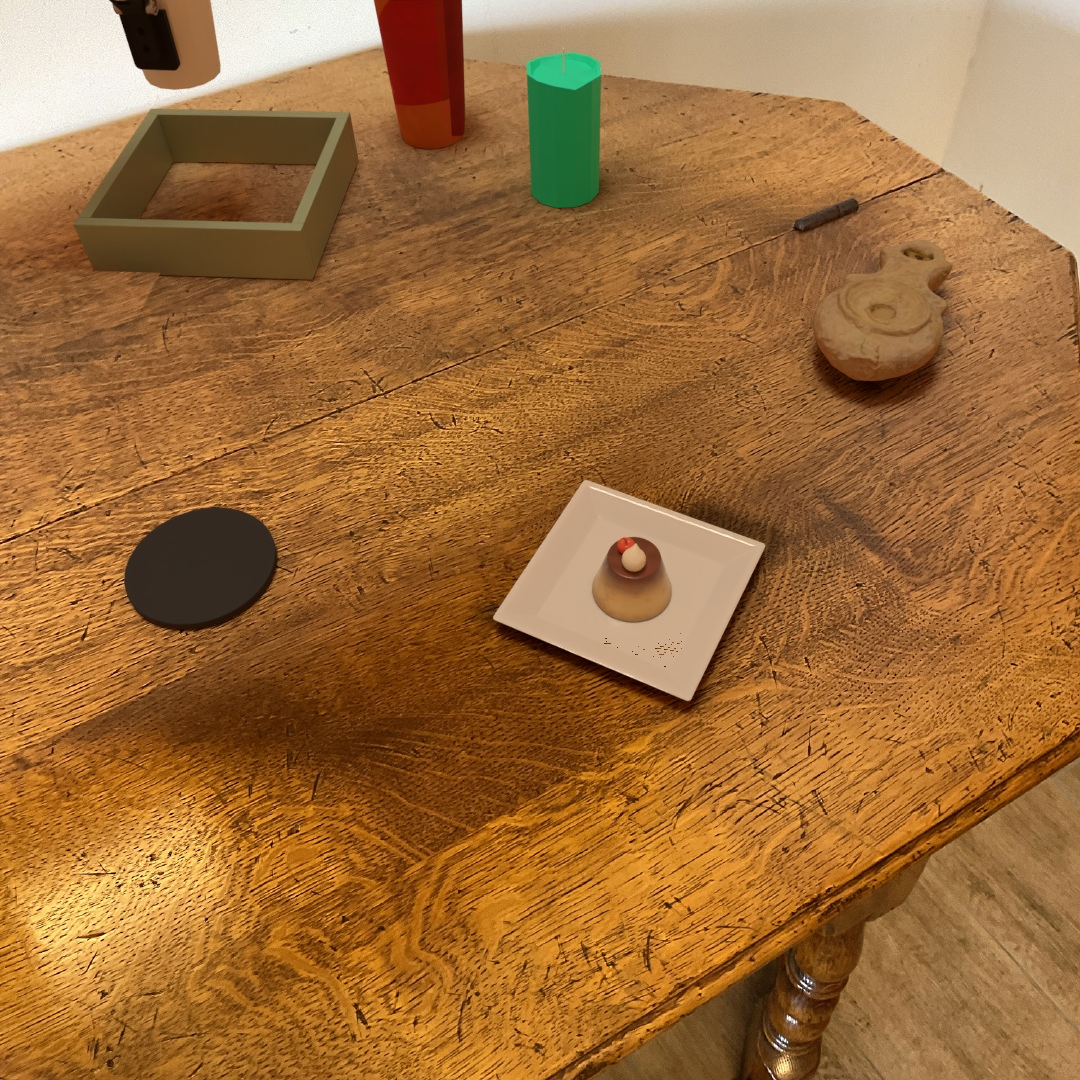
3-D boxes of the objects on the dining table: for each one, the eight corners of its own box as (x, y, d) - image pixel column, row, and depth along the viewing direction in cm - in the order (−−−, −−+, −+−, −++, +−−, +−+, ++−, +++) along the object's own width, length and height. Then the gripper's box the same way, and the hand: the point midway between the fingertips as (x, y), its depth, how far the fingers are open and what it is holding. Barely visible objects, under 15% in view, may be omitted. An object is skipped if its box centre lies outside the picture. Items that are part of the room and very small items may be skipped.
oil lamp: (928, 280, 77) (947, 222, 73) (973, 407, 68) (997, 349, 64) (789, 279, 77) (800, 223, 74) (814, 406, 68) (829, 349, 64)
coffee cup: (443, 101, 97) (425, -70, 85) (495, 133, 93) (484, -42, 81) (370, 131, 94) (342, -43, 82) (421, 166, 89) (398, -12, 78)
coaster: (105, 625, 58) (101, 619, 58) (156, 509, 64) (152, 503, 63) (255, 634, 57) (252, 628, 57) (293, 516, 63) (291, 510, 63)
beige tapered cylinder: (119, 72, 76) (87, -28, 70) (197, 43, 79) (172, -54, 74) (167, 103, 73) (137, 2, 67) (247, 72, 76) (224, -28, 70)
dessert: (584, 490, 64) (585, 437, 60) (763, 555, 60) (776, 502, 56) (492, 629, 57) (487, 579, 54) (687, 712, 54) (696, 664, 50)
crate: (94, 273, 80) (72, 224, 77) (166, 155, 92) (150, 108, 88) (312, 280, 79) (300, 230, 76) (358, 159, 90) (350, 111, 87)
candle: (522, 204, 85) (516, 62, 76) (539, 167, 89) (535, 28, 79) (591, 211, 84) (593, 69, 75) (605, 173, 88) (609, 34, 78)
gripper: (85, -291, 66) (164, -6, 80) (-32, -216, 55) (83, 99, 69) (195, -289, 66) (256, -3, 80) (99, -214, 55) (188, 103, 68)
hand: (175, 42), depth 74 cm, fingers closed on beige tapered cylinder, 6 cm apart
